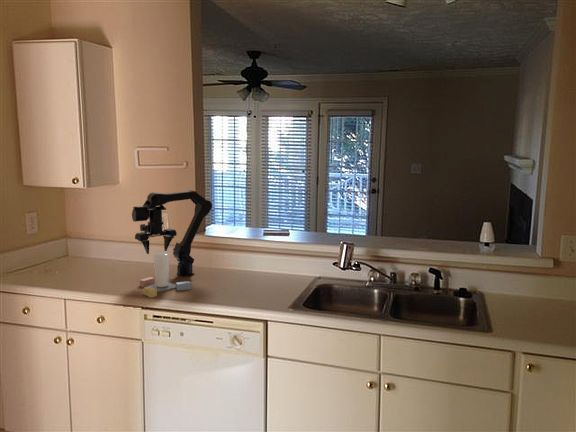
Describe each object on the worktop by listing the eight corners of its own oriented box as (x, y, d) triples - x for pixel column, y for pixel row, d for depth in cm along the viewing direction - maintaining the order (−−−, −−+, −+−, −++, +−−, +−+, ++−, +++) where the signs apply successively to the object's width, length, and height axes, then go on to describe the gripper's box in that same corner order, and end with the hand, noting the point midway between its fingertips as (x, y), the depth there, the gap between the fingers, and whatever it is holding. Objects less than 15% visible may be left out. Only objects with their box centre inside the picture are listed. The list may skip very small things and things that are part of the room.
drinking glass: (169, 287, 213) (168, 254, 210) (154, 288, 211) (152, 255, 209) (170, 283, 219) (169, 251, 217) (155, 284, 218) (154, 251, 216)
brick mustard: (143, 294, 206) (143, 287, 206) (150, 293, 208) (149, 286, 208) (150, 297, 202) (150, 291, 201) (156, 296, 204) (156, 289, 203)
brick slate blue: (189, 287, 216) (189, 281, 216) (190, 289, 214) (190, 282, 213) (176, 289, 214) (175, 282, 214) (177, 290, 211) (177, 284, 211)
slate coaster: (166, 282, 223) (166, 281, 223) (179, 287, 215) (179, 286, 215) (144, 287, 215) (144, 285, 215) (157, 292, 208) (157, 291, 208)
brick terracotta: (150, 283, 222) (150, 276, 222) (154, 284, 220) (154, 278, 220) (139, 286, 217) (139, 279, 217) (144, 287, 216) (143, 281, 215)
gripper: (164, 215, 236) (165, 246, 238) (128, 219, 223) (130, 252, 225) (176, 218, 228) (177, 250, 230) (140, 222, 215) (141, 256, 217)
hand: (156, 252), depth 226 cm, fingers open, 9 cm apart
